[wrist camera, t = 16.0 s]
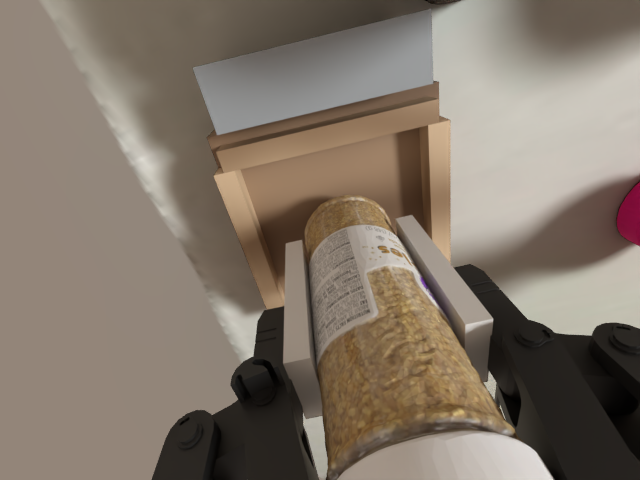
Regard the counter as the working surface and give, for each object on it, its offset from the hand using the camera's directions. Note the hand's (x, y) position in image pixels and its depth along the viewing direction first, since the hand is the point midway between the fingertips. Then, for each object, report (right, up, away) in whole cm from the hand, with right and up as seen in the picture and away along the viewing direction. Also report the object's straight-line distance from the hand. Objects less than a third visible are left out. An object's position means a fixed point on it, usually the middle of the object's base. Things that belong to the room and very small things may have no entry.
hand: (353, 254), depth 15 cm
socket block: (0, +3, +6) cm, 6 cm away
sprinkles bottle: (0, +1, +2) cm, 2 cm away
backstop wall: (-2, +9, +2) cm, 10 cm away
